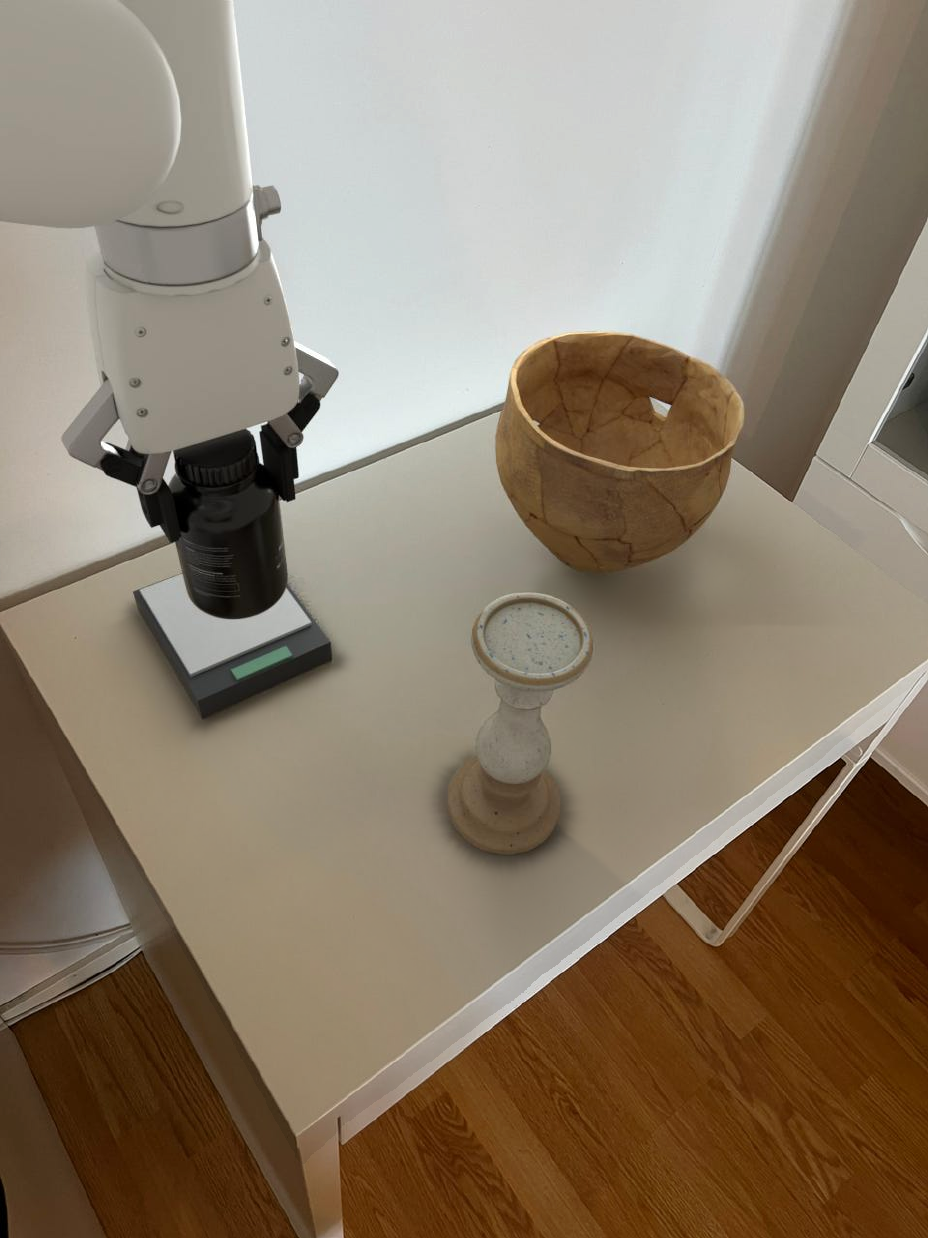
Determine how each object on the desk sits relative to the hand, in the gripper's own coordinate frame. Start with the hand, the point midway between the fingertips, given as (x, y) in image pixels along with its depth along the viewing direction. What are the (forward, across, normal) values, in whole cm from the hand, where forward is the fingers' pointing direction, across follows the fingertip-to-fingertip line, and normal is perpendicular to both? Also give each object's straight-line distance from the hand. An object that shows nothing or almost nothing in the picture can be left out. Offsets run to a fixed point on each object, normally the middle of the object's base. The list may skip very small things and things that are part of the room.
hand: (224, 506), depth 58 cm
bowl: (+24, -35, -2) cm, 43 cm away
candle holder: (+24, -13, +16) cm, 32 cm away
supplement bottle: (+7, 0, 0) cm, 7 cm away
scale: (+24, -2, -10) cm, 26 cm away
